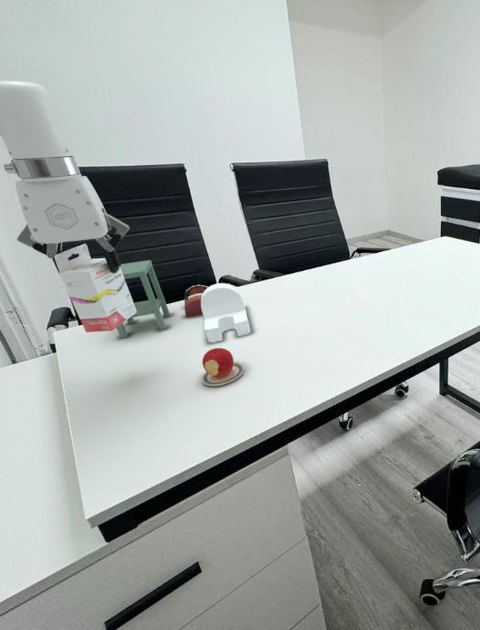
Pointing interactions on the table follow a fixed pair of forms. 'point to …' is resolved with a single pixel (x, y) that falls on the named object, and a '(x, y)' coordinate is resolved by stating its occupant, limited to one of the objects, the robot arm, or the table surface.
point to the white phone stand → (223, 311)
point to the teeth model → (194, 300)
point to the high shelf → (152, 304)
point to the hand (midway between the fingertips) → (93, 273)
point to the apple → (220, 367)
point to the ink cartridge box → (95, 290)
